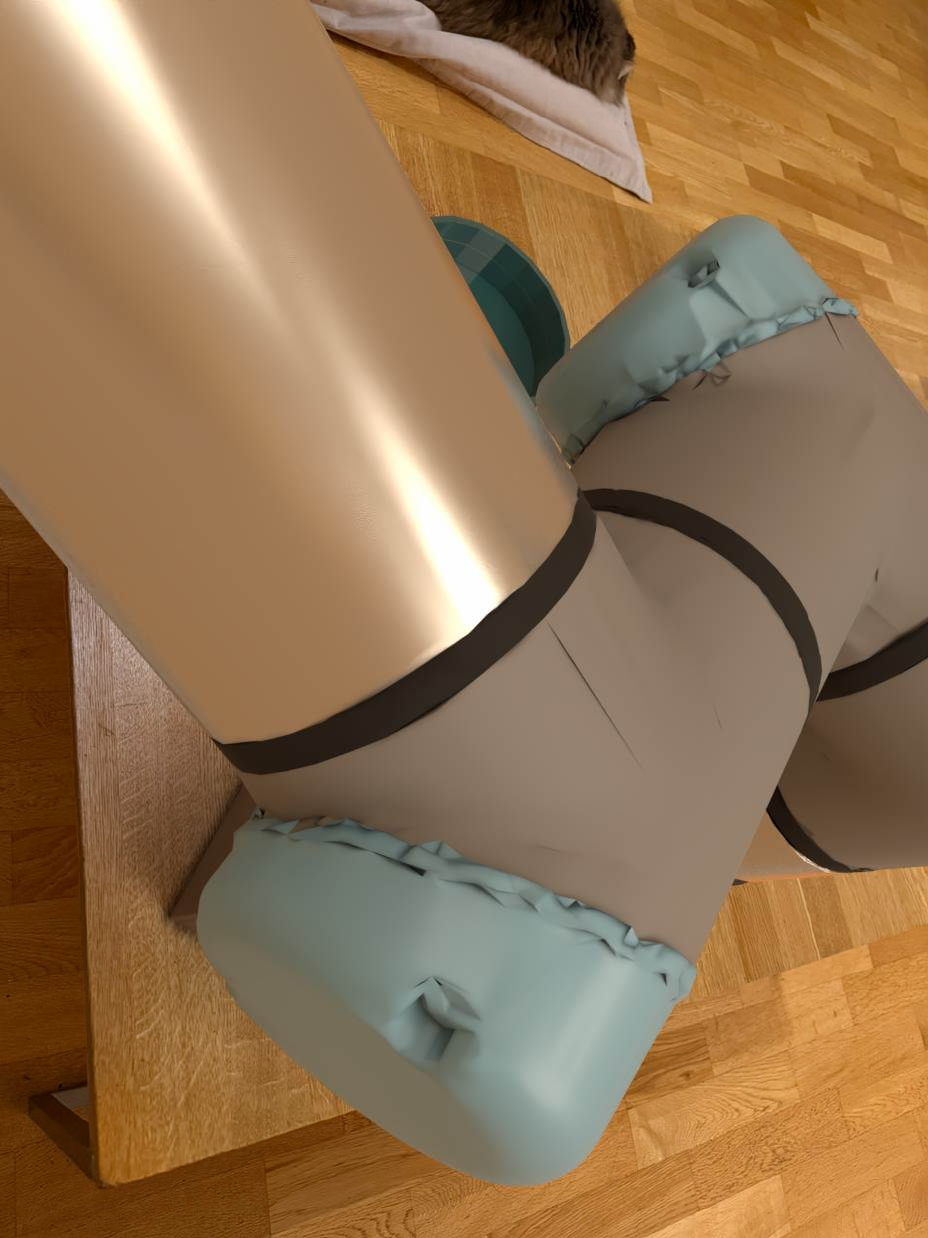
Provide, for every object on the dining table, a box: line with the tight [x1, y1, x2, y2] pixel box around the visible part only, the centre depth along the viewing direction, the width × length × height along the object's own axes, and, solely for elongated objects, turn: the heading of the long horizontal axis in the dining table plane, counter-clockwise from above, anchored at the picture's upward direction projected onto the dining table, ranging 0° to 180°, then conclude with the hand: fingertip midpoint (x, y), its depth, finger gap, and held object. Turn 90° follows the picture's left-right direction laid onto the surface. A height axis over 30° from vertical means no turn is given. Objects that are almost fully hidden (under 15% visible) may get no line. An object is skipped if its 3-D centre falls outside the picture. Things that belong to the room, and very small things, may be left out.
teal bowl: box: [429, 214, 572, 408], centre depth 87 cm, size 19×19×6 cm
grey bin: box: [169, 783, 260, 933], centre depth 64 cm, size 14×14×6 cm
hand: (432, 843), depth 52 cm, fingers closed on decorative ball, 10 cm apart
